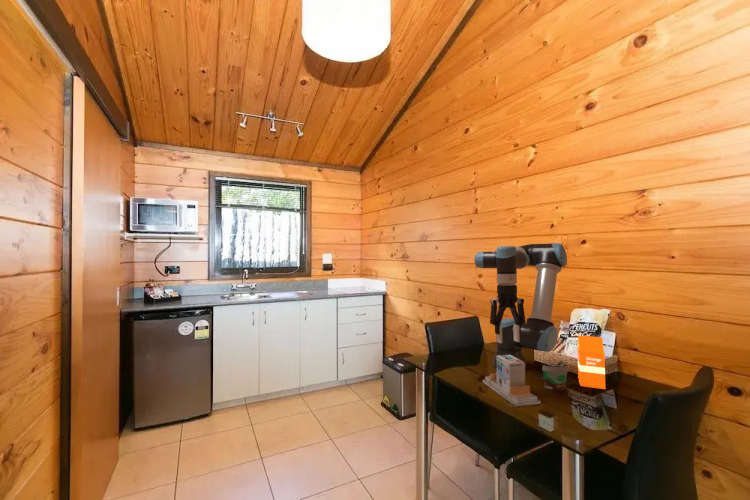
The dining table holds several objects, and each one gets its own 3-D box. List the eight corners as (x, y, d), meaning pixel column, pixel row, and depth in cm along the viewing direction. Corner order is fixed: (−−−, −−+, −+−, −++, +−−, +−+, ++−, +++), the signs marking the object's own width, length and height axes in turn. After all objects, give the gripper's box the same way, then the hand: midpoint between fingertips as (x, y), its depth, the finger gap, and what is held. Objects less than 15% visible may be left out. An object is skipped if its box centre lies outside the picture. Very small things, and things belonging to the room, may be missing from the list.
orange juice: (578, 379, 145) (576, 333, 145) (602, 382, 141) (601, 335, 141) (580, 385, 138) (578, 337, 138) (605, 389, 134) (604, 339, 134)
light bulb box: (496, 381, 137) (495, 355, 138) (511, 380, 138) (510, 354, 139) (510, 391, 127) (509, 363, 127) (526, 390, 128) (525, 362, 128)
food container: (556, 395, 129) (556, 369, 129) (542, 390, 134) (541, 365, 134) (576, 389, 134) (575, 364, 135) (561, 384, 140) (560, 360, 140)
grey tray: (503, 380, 145) (503, 368, 145) (540, 403, 121) (540, 390, 122) (482, 382, 143) (482, 370, 143) (516, 406, 120) (515, 392, 120)
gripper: (489, 285, 128) (490, 345, 127) (534, 284, 131) (536, 342, 131) (479, 284, 135) (480, 341, 135) (523, 282, 139) (524, 338, 138)
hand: (508, 341), depth 133 cm, fingers open, 7 cm apart
